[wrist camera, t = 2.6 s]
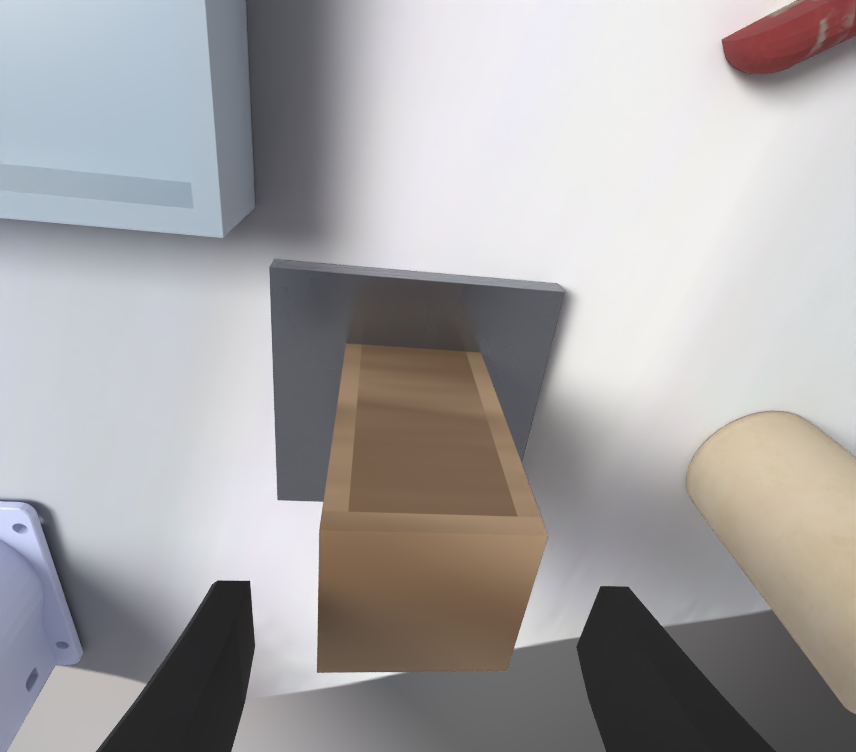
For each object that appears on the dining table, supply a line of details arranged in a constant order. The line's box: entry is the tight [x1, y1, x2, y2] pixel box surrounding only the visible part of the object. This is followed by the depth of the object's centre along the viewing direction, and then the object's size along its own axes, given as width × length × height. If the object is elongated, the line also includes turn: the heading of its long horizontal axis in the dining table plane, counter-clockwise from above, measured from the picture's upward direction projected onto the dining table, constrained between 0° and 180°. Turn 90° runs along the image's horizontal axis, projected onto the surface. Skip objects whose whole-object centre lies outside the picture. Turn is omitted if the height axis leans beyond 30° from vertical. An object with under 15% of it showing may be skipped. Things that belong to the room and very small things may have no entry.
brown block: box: [317, 343, 548, 673], centre depth 14 cm, size 4×4×8 cm
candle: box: [686, 411, 856, 714], centre depth 17 cm, size 6×6×10 cm
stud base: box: [270, 259, 564, 502], centre depth 17 cm, size 9×9×3 cm
